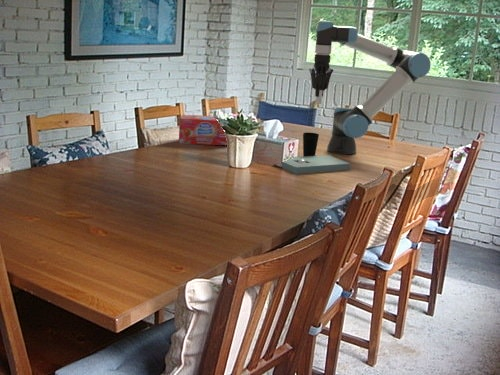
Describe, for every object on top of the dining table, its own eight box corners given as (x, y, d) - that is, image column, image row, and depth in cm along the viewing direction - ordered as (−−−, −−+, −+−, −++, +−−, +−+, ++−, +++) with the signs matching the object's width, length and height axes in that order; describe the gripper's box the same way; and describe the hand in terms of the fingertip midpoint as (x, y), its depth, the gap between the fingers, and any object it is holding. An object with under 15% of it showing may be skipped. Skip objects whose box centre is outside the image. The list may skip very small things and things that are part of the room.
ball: (304, 159, 295) (297, 157, 293) (309, 161, 292) (302, 159, 289) (301, 168, 295) (294, 165, 293) (306, 170, 292) (299, 167, 290)
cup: (316, 157, 318) (318, 133, 315) (316, 160, 311) (318, 135, 308) (301, 155, 319) (303, 132, 316) (300, 159, 311) (302, 134, 308)
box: (177, 143, 330) (178, 117, 327) (181, 138, 343) (182, 113, 339) (230, 147, 329) (231, 121, 326) (232, 142, 342) (233, 117, 338)
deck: (326, 161, 311) (327, 154, 310) (349, 169, 296) (350, 163, 295) (274, 164, 296) (274, 158, 295) (295, 174, 281) (296, 167, 280)
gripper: (329, 53, 313) (324, 102, 319) (307, 53, 307) (303, 102, 313) (338, 55, 307) (333, 104, 313) (316, 54, 300) (311, 104, 307)
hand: (318, 103), depth 313 cm, fingers closed
